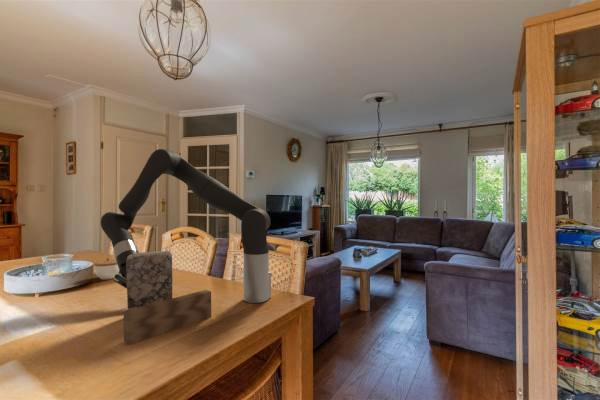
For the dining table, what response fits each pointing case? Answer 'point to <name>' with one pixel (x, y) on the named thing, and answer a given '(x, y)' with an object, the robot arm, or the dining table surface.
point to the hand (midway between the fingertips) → (140, 295)
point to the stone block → (148, 278)
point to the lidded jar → (106, 268)
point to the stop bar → (165, 316)
